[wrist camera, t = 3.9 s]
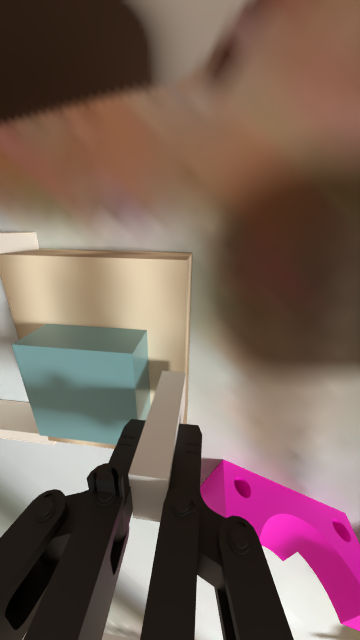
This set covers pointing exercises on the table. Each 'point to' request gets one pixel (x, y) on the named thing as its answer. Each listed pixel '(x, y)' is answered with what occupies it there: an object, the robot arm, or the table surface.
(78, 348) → the teal rectangular block
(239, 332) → the table surface
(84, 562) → the robot arm
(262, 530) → the magenta notched bracket
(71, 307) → the plate
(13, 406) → the box
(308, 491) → the table surface
